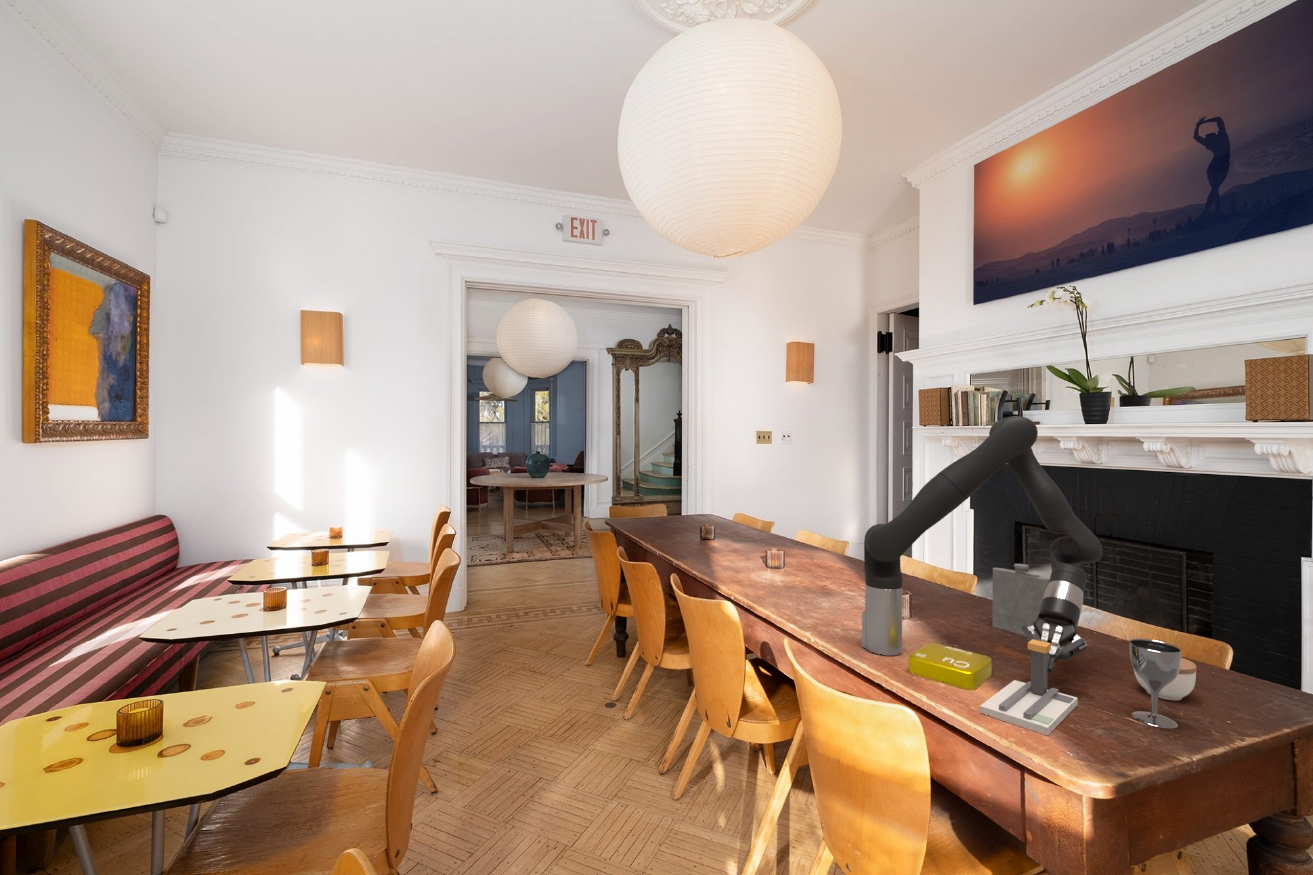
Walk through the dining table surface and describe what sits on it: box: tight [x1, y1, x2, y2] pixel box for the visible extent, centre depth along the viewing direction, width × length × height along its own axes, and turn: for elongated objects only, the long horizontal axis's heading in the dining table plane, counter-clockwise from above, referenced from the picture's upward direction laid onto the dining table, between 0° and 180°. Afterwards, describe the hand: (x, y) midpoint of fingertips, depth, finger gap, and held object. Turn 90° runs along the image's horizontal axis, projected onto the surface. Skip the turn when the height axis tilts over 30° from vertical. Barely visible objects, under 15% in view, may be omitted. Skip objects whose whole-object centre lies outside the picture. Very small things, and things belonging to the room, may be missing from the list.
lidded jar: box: [1133, 657, 1198, 701], centre depth 130 cm, size 11×11×9 cm
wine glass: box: [1129, 638, 1182, 730], centre depth 118 cm, size 8×8×15 cm
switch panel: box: [979, 679, 1079, 736], centre depth 122 cm, size 12×20×2 cm, turn 131°
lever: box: [1027, 639, 1051, 695], centre depth 126 cm, size 3×3×11 cm
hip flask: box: [991, 563, 1050, 641], centre depth 171 cm, size 16×4×20 cm, turn 26°
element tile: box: [908, 642, 993, 691], centre depth 141 cm, size 15×15×5 cm
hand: (1044, 671), depth 129 cm, fingers closed
